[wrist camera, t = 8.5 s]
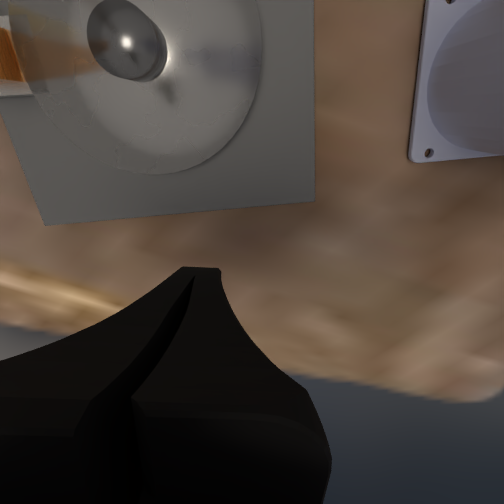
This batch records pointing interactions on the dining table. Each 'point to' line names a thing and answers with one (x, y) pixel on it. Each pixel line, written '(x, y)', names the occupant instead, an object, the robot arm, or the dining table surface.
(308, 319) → the dining table surface
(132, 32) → the lidded saucepan
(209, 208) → the base plate
